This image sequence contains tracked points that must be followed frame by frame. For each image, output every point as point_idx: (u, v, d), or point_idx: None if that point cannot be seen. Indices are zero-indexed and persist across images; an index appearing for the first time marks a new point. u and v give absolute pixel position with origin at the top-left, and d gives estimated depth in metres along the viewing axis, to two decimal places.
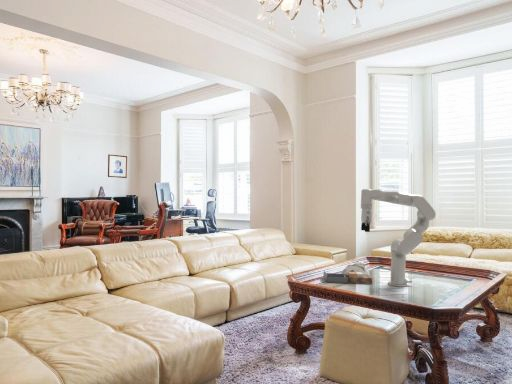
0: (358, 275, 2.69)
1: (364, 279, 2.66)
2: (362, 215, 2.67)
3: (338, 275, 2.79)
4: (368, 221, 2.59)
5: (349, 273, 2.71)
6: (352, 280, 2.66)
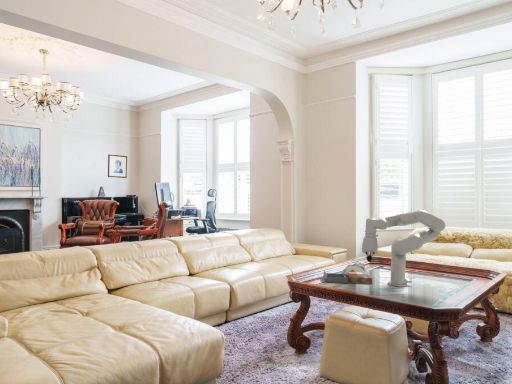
0: (358, 275, 2.69)
1: (364, 279, 2.66)
2: (371, 244, 2.70)
3: (338, 275, 2.79)
4: None
5: (349, 273, 2.71)
6: (352, 280, 2.66)
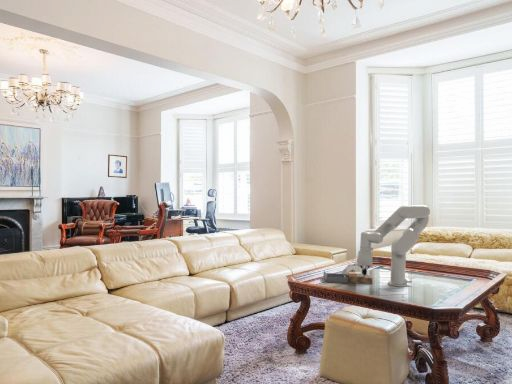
0: (357, 275, 2.69)
1: (364, 279, 2.66)
2: (366, 258, 2.70)
3: (338, 275, 2.79)
4: None
5: (349, 273, 2.71)
6: (352, 280, 2.66)
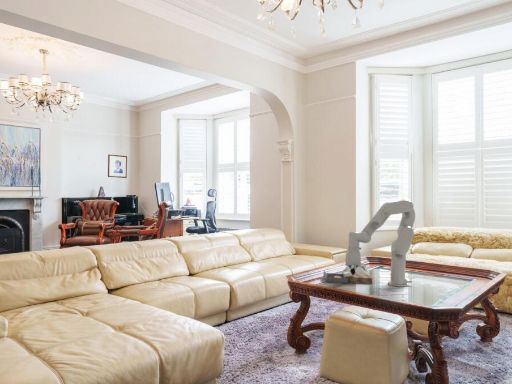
0: (346, 275, 2.69)
1: (364, 279, 2.66)
2: (354, 258, 2.70)
3: (338, 275, 2.79)
4: (359, 266, 2.72)
5: None
6: (352, 280, 2.66)
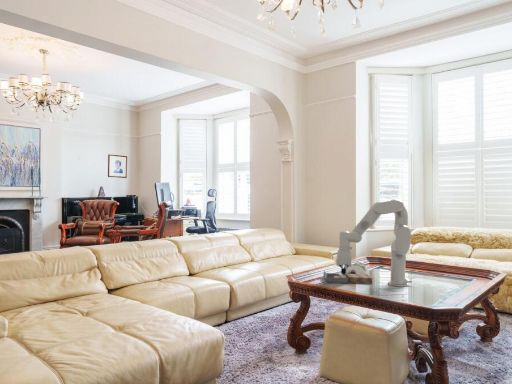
0: None
1: (364, 279, 2.66)
2: (344, 257, 2.70)
3: (338, 275, 2.79)
4: None
5: None
6: (352, 280, 2.66)
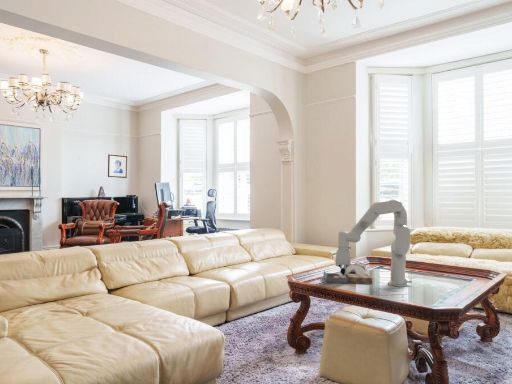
0: None
1: (364, 279, 2.66)
2: (344, 257, 2.70)
3: (338, 275, 2.79)
4: None
5: None
6: (352, 280, 2.66)
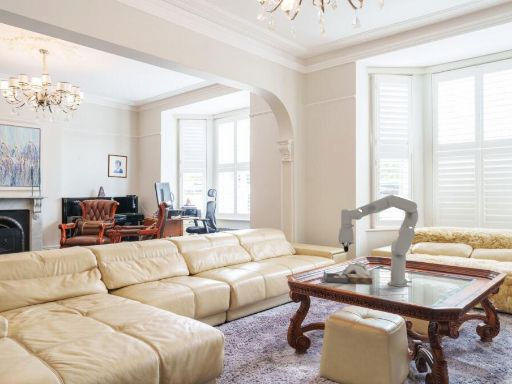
0: None
1: (364, 279, 2.66)
2: (347, 235, 2.71)
3: (338, 275, 2.79)
4: (352, 243, 2.73)
5: None
6: (352, 280, 2.66)
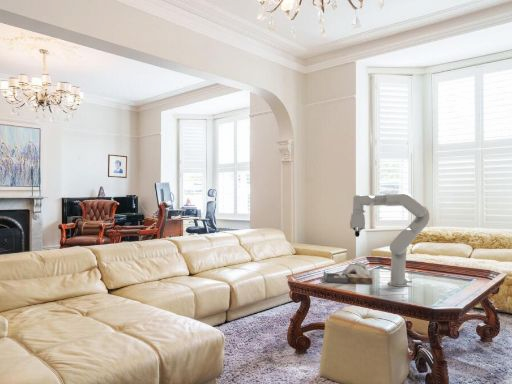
0: None
1: (364, 279, 2.66)
2: (358, 220, 2.79)
3: (338, 275, 2.79)
4: None
5: None
6: (352, 280, 2.66)
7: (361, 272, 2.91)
